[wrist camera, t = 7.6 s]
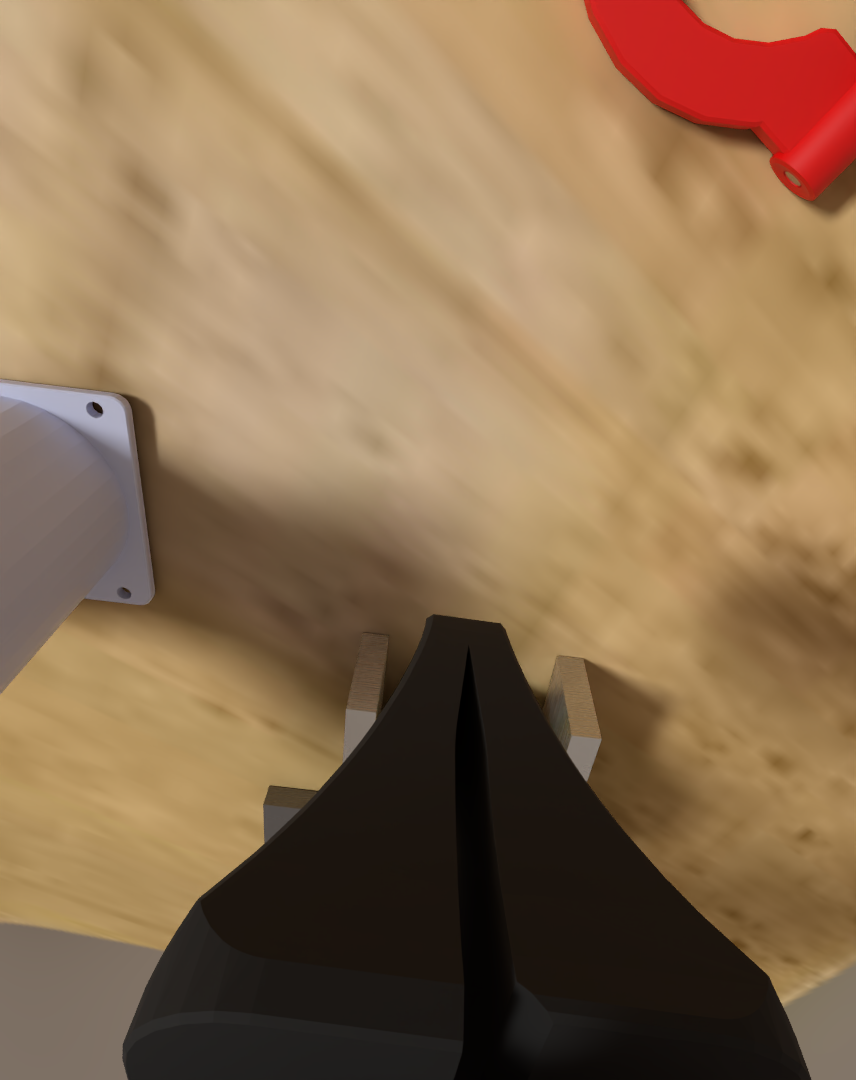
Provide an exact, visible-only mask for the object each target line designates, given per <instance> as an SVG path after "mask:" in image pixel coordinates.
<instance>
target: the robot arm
mask: <svg viewBox="0 0 856 1080" xmlns="http://www.w3.org/2000/svg"><path fill="white" fill-rule="evenodd" d="M93 402H95V403H98V404H99V405H100V406H101V407H102V409H103V414H101V413H98V412H97V411H96V410H95V409H94V408H93V405H92V403H93ZM122 587H124V588H127V589H128V590H129V591H130V592H131V593H128V592H126V591H124V590H123V588H122ZM154 595H155V586H154V578H153V570H152V562H151V555H150V547H149V539H148V532H147V524H146V516H145V508H144V501H143V493H142V485H141V478H140V470H139V462H138V454H137V447H136V439H135V431H134V424H133V416H132V409H131V406H130V404H129V403H128V401H127V400H126V399H125V398H124V397H122V396H121V395H119V394H116V393H110V392H102V391H94V390H86V389H78V388H69V387H61V386H53V385H45V384H37V383H28V382H20V381H12V380H4V379H0V694H1V693H2V692H3V691H4V690H5V688H6V687H7V686H8V685H9V684H10V683H11V682H12V680H13V679H14V678H15V677H16V676H17V675H18V673H19V672H20V671H21V670H22V669H23V668H24V667H25V665H26V664H27V663H28V662H29V661H30V660H31V659H32V657H33V656H34V655H35V654H36V653H37V652H38V650H39V649H40V648H41V647H42V646H43V645H44V644H45V642H46V641H47V640H48V639H49V638H50V637H51V635H52V634H53V633H54V632H55V631H56V630H57V629H58V627H59V626H60V625H61V624H62V623H63V622H64V621H65V619H66V618H67V617H68V616H69V615H70V614H71V612H72V611H73V610H74V609H75V608H76V607H77V606H78V604H79V603H80V602H81V601H82V600H83V599H93V600H101V601H109V602H118V603H126V604H135V605H146V604H148V603H149V602H150V601H151V600H152V598H153V597H154ZM123 1062H124V1067H125V1070H126V1074H127V1078H128V1080H811V1077H810V1075H809V1072H808V1069H807V1066H806V1063H805V1060H804V1058H803V1055H802V1052H801V1049H800V1047H799V1044H798V1041H797V1038H796V1036H795V1033H794V1032H793V1029H792V1026H791V1024H790V1022H789V1019H788V1017H787V1014H786V1012H785V1011H784V1008H783V1006H782V1004H781V1002H780V1000H779V998H778V996H777V994H776V991H775V989H774V987H773V985H772V983H771V980H770V978H769V976H768V975H767V974H766V973H765V972H764V971H763V970H762V969H760V968H759V967H758V966H757V965H756V964H755V963H754V962H753V961H752V960H751V959H749V958H748V957H747V956H746V955H745V954H744V953H743V952H742V951H741V950H740V949H738V948H737V947H736V946H735V945H734V944H733V943H732V942H731V941H730V940H729V939H727V938H726V937H725V936H724V935H723V934H722V933H721V932H720V931H719V930H718V929H716V928H715V927H714V926H713V925H712V924H711V923H710V922H709V921H708V920H707V919H705V918H704V917H703V916H702V915H701V914H700V913H699V912H698V911H697V910H696V909H695V908H694V907H693V906H692V905H691V904H690V903H689V902H688V901H687V900H686V899H685V898H684V897H683V896H682V895H681V894H680V892H679V891H678V890H677V889H676V888H675V887H674V886H673V885H672V884H671V883H670V882H669V881H668V880H667V879H666V878H665V877H664V876H663V875H662V874H661V873H660V872H659V870H658V869H657V868H656V867H655V866H654V865H653V864H652V862H651V861H650V860H649V859H648V858H647V857H646V856H645V855H644V853H643V852H642V851H641V850H640V849H639V848H638V847H637V845H636V844H635V843H634V842H633V841H632V840H631V839H630V837H629V836H628V835H627V834H626V833H625V832H624V831H623V829H622V828H621V827H620V826H619V824H618V823H617V822H616V820H615V819H614V818H613V817H612V815H611V814H610V813H609V811H608V810H607V809H606V808H605V806H604V805H603V804H602V803H601V801H600V800H599V798H598V797H597V796H596V794H595V793H594V792H593V790H592V789H591V787H590V786H589V785H588V783H587V782H586V781H585V779H584V778H583V776H582V775H581V773H580V772H579V770H578V769H577V767H576V766H575V764H574V763H573V761H572V760H571V758H570V757H569V755H568V754H567V752H566V750H565V749H564V747H563V745H562V744H561V742H560V741H559V739H558V737H557V736H556V734H555V732H554V731H553V729H552V727H551V725H550V724H549V722H548V720H547V718H546V717H545V715H544V713H543V711H542V709H541V707H540V705H539V703H538V702H537V700H536V698H535V696H534V694H533V692H532V690H531V688H530V686H529V684H528V682H527V680H526V678H525V676H524V674H523V672H522V669H521V667H520V665H519V663H518V661H517V658H516V656H515V654H514V651H513V649H512V646H511V644H510V641H509V639H508V636H507V633H506V630H505V628H504V627H503V626H502V625H501V623H493V622H486V621H479V620H471V619H464V618H456V617H449V616H442V615H434V614H433V615H432V616H430V617H428V618H427V619H426V625H425V629H424V632H423V635H422V638H421V641H420V643H419V646H418V648H417V650H416V652H415V654H414V657H413V659H412V661H411V663H410V665H409V667H408V668H407V670H406V672H405V674H404V676H403V677H402V679H401V681H400V683H399V685H398V686H397V688H396V690H395V692H394V693H393V695H392V696H391V698H390V699H389V701H388V702H387V704H386V705H385V707H384V708H383V710H382V711H381V713H380V715H379V716H378V718H377V719H376V721H375V722H374V724H373V725H372V726H371V728H370V729H369V730H368V732H367V733H366V735H365V736H364V737H363V739H362V740H361V741H360V743H359V744H358V745H357V746H356V748H355V749H354V750H353V751H352V753H351V754H350V755H349V756H348V758H347V759H346V760H345V761H344V763H343V764H342V765H341V766H340V767H339V768H338V770H337V771H336V772H335V773H334V774H333V775H332V776H331V777H330V779H329V780H328V781H327V782H326V783H325V784H324V785H323V786H322V788H321V789H320V790H319V791H318V792H317V793H316V794H315V795H314V796H313V797H312V798H311V799H310V800H309V801H308V803H307V804H306V805H305V806H304V807H303V808H302V809H301V810H300V811H299V812H297V813H296V814H295V815H294V816H293V817H292V818H291V819H290V820H289V821H288V822H287V823H286V824H285V825H284V826H283V827H282V828H281V829H280V830H279V831H277V832H276V833H275V834H274V835H273V836H272V837H271V838H270V839H269V840H268V841H267V842H266V843H265V844H264V845H263V846H262V847H260V848H259V849H258V850H257V851H256V852H255V853H254V854H252V855H251V856H250V857H249V858H248V859H246V860H245V861H244V862H243V863H242V864H240V865H239V866H238V867H237V868H235V869H234V870H233V871H232V872H231V873H229V874H228V875H227V876H226V877H224V878H223V879H222V880H221V881H220V882H218V883H217V884H216V885H215V886H213V887H212V888H211V889H210V890H209V891H207V892H206V893H205V894H204V895H202V896H201V897H200V898H199V899H198V900H197V901H196V903H195V904H194V906H193V907H192V909H191V910H190V911H189V913H188V915H187V916H186V918H185V919H184V921H183V922H182V924H181V925H180V927H179V928H178V930H177V931H176V933H175V935H174V936H173V938H172V939H171V941H170V943H169V944H168V946H167V948H166V949H165V951H164V953H163V955H162V957H161V958H160V960H159V962H158V964H157V966H156V968H155V970H154V972H153V974H152V976H151V978H150V980H149V982H148V984H147V986H146V988H145V990H144V993H143V995H142V998H141V1000H140V1003H139V1005H138V1008H137V1010H136V1013H135V1016H134V1018H133V1020H132V1023H131V1025H130V1028H129V1030H128V1033H127V1035H126V1038H125V1040H124V1043H123Z"/></svg>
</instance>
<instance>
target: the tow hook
mask: <svg viewBox="0 0 856 1080" xmlns="http://www.w3.org/2000/svg"><path fill="white" fill-rule="evenodd" d="M584 2H585V6H586V10H587V14H588V18H589V20H590V22H591V24H592V26H593V27H594V29H595V31H596V33H597V35H598V36H599V38H600V40H601V42H602V44H603V45H604V47H605V49H606V51H607V53H608V54H609V56H610V58H611V60H612V62H613V63H614V65H615V67H616V68H617V69H618V70H619V71H620V72H621V73H622V74H623V75H624V76H625V77H626V78H627V79H628V80H629V81H630V82H631V83H632V84H633V85H634V86H635V87H636V88H637V89H638V90H639V91H640V92H641V93H642V94H643V95H645V96H646V97H647V98H648V99H649V100H650V101H651V102H652V103H654V104H656V105H658V106H660V107H662V108H664V109H666V110H668V111H670V112H672V113H674V114H677V115H679V116H681V117H683V118H685V119H687V120H689V121H691V122H693V123H696V124H704V125H712V126H720V127H728V128H735V129H743V130H744V129H749V128H750V129H751V130H752V131H753V132H754V133H755V134H756V136H757V137H758V138H759V139H760V140H761V141H762V142H763V144H764V145H765V146H766V147H767V148H768V149H769V150H770V151H771V153H772V154H773V156H772V157H771V158H770V165H771V167H772V169H773V171H774V172H775V174H776V175H777V177H778V178H779V179H780V181H781V182H782V183H783V184H784V185H785V186H786V187H787V188H789V189H790V190H791V191H792V192H794V193H795V194H796V195H798V196H800V197H802V198H804V199H806V200H809V201H814V200H815V199H816V198H817V197H818V196H819V195H820V194H821V193H822V192H823V191H824V190H825V189H826V188H827V187H828V186H829V185H830V184H831V183H832V182H833V181H834V180H835V179H836V178H837V177H838V176H839V175H840V174H841V173H842V172H843V171H844V170H845V169H846V168H847V167H848V166H849V165H850V164H851V163H852V162H853V161H854V160H855V159H856V54H855V52H854V51H853V50H852V49H851V47H850V46H849V45H848V43H847V42H846V41H845V40H844V38H843V37H842V36H841V35H840V33H839V32H838V31H837V30H836V29H827V28H820V29H818V30H816V31H814V32H812V33H810V34H808V35H806V36H801V37H796V38H791V39H786V40H780V41H775V42H770V43H767V42H759V41H751V40H743V39H734V38H732V37H730V36H728V35H726V34H724V33H722V32H720V31H718V30H716V29H714V28H712V27H710V26H708V25H706V24H704V23H703V22H702V21H701V20H700V19H699V18H698V17H697V16H696V14H695V13H694V12H693V11H692V10H691V9H690V8H689V7H688V6H687V5H686V4H685V3H684V2H683V1H682V0H584Z"/></svg>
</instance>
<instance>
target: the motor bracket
mask: <svg viewBox="0 0 856 1080" xmlns="http://www.w3.org/2000/svg"><path fill="white" fill-rule="evenodd" d="M388 640H389V636H387V635H378V634H370V633H363V635H362V639H361V644H360V648H359V653H358V657H357V662H356V666H355V671H354V675H353V680H352V684H351V689H350V693H349V698H348V703H347V707H346V718H345V735H344V752H343V763H344V761H345V760H346V759H347V758H348V756H349V755H350V754H351V753H352V751H353V750H354V749H355V748H356V746H357V745H358V744H359V743H360V741H361V740H362V739H363V737H364V736H365V735H366V733H367V732H368V730H369V729H370V728H371V726H372V725H373V724H374V722H375V721H376V719H377V718H378V716H379V715H380V713H381V711H382V701H383V691H384V680H385V670H386V660H387V650H388ZM543 713H544V715H545V717H546V718H547V720H548V722H549V724H550V725H551V727H552V729H553V731H554V732H555V734H556V736H557V737H558V739H559V741H560V742H561V744H562V745H563V747H564V749H565V750H566V752H567V754H568V755H569V757H570V758H571V760H572V761H573V763H574V764H575V766H576V767H577V769H578V770H579V772H580V773H581V775H582V776H583V778H584V779H585V781H586V782H587V780H588V777H589V774H590V771H591V769H592V766H593V763H594V760H595V757H596V754H597V751H598V749H599V746H600V743H601V740H602V738H601V734H600V729H599V725H598V721H597V716H596V712H595V708H594V703H593V699H592V694H591V690H590V686H589V681H588V677H587V673H586V668H585V664H584V660H583V659H580V658H572V657H564V656H557V659H556V663H555V667H554V670H553V674H552V678H551V681H550V685H549V689H548V692H547V696H546V700H545V703H544V707H543ZM317 792H318V791H309V790H300V789H292V788H283V787H275V786H269V788H268V792H267V795H266V798H265V801H264V804H263V808H264V839H265V843H266V842H267V841H268V840H269V839H270V838H271V837H272V836H273V835H274V834H275V833H276V832H277V831H279V830H280V829H281V828H282V827H283V826H284V825H285V824H286V823H287V822H288V821H289V820H290V819H291V818H292V817H293V816H294V815H295V814H296V813H297V812H299V811H300V810H301V809H302V808H303V807H304V806H305V805H306V804H307V803H308V801H309V800H310V799H311V798H312V797H313V796H314V795H315V794H316V793H317Z"/></svg>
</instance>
